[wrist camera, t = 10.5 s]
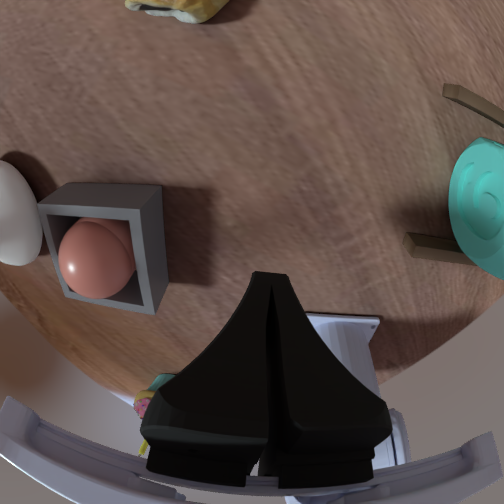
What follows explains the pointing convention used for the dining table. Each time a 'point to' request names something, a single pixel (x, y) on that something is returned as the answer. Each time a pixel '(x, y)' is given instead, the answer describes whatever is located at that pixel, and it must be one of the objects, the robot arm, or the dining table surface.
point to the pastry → (179, 8)
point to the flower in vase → (18, 218)
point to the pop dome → (97, 256)
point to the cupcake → (148, 400)
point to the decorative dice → (479, 204)
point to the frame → (437, 246)
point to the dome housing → (121, 208)
